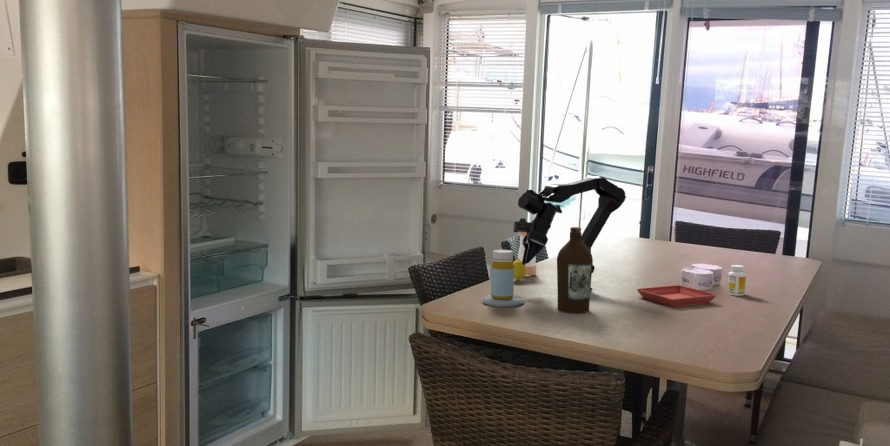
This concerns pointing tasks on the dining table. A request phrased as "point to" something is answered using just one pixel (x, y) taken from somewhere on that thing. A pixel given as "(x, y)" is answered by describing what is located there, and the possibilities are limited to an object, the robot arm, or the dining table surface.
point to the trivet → (503, 301)
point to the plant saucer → (676, 295)
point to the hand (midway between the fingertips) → (524, 263)
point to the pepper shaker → (529, 266)
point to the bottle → (502, 275)
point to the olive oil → (574, 275)
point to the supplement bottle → (736, 281)
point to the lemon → (519, 269)
